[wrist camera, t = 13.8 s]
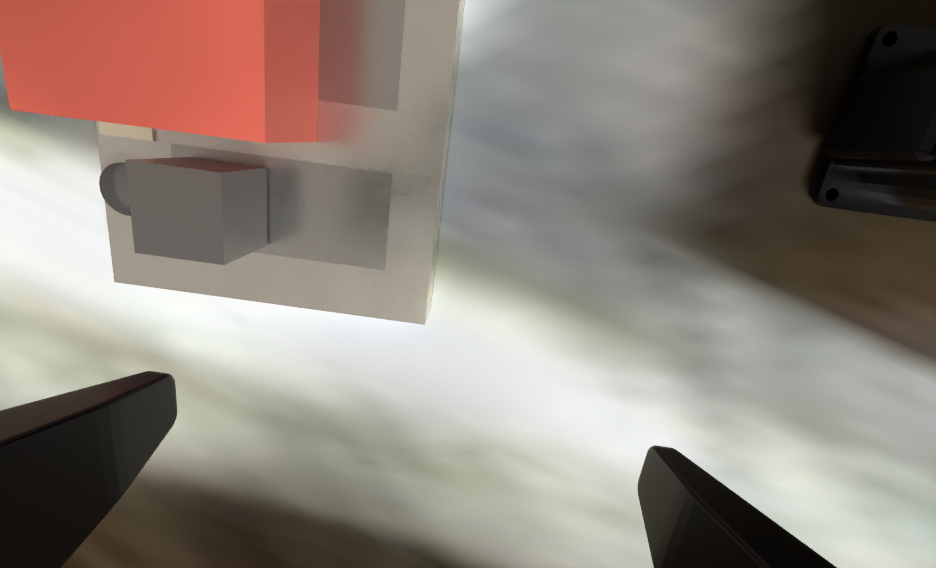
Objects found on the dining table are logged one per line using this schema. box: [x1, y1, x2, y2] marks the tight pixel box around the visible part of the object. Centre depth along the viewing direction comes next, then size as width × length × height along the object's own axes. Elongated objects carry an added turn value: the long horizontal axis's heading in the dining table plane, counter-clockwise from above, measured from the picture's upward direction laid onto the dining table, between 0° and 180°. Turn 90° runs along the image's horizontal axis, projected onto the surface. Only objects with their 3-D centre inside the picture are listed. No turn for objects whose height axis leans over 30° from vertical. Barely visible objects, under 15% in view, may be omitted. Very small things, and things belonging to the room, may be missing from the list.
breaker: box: [125, 157, 267, 265], centre depth 16 cm, size 3×3×3 cm
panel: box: [96, 0, 465, 325], centre depth 16 cm, size 13×20×2 cm, turn 173°
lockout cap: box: [0, 0, 320, 143], centre depth 13 cm, size 7×7×5 cm
